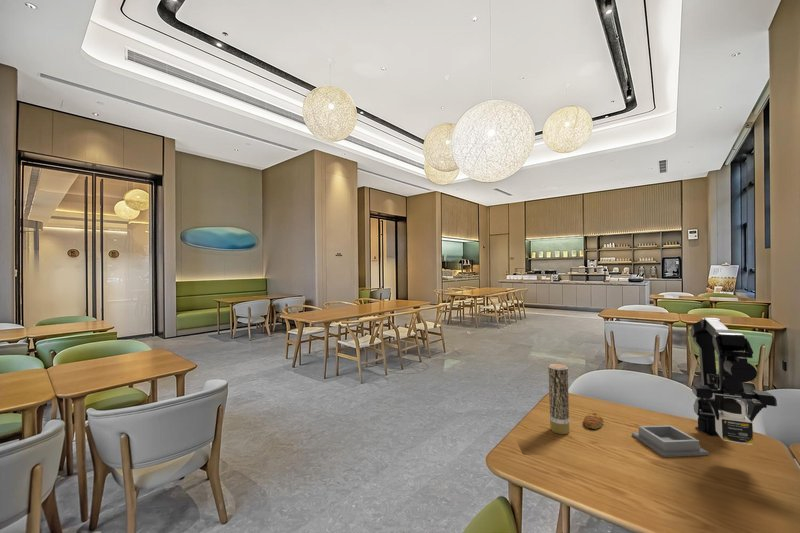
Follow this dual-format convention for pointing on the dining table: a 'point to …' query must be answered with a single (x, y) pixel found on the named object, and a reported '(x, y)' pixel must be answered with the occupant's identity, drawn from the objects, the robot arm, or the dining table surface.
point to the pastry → (593, 421)
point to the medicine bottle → (734, 422)
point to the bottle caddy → (669, 441)
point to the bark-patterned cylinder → (559, 398)
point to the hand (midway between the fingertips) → (733, 421)
